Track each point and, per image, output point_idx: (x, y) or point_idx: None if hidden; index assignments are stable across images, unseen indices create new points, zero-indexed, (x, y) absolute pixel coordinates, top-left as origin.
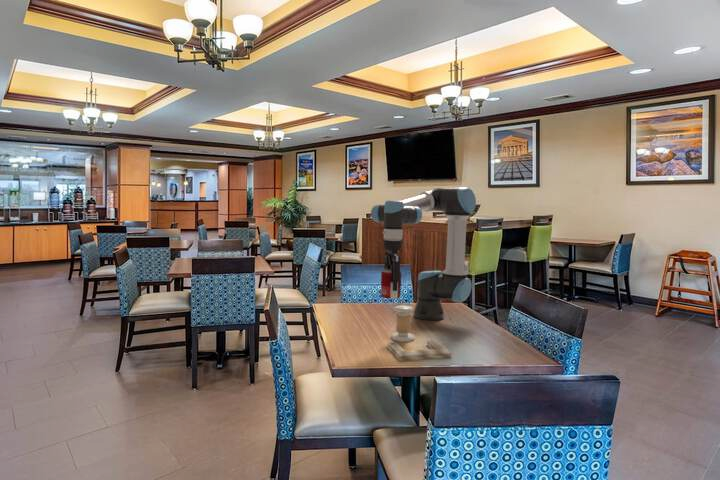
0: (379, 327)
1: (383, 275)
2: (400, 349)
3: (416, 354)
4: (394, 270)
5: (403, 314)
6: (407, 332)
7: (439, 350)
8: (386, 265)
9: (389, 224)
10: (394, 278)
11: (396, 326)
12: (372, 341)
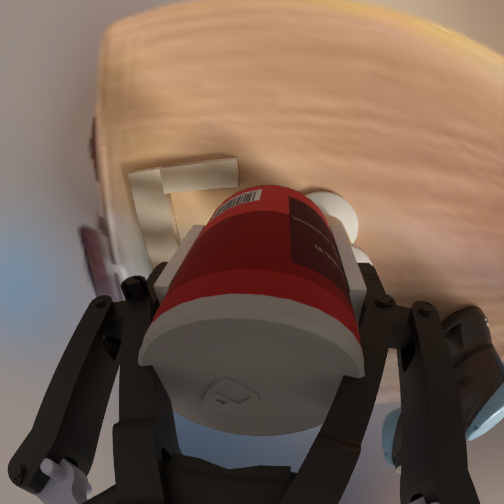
0: (434, 191)
1: (201, 270)
2: (173, 184)
3: (140, 215)
4: (62, 366)
5: None
6: None
7: None
8: (369, 409)
9: None
10: (85, 314)
11: (328, 221)
12: (301, 123)
